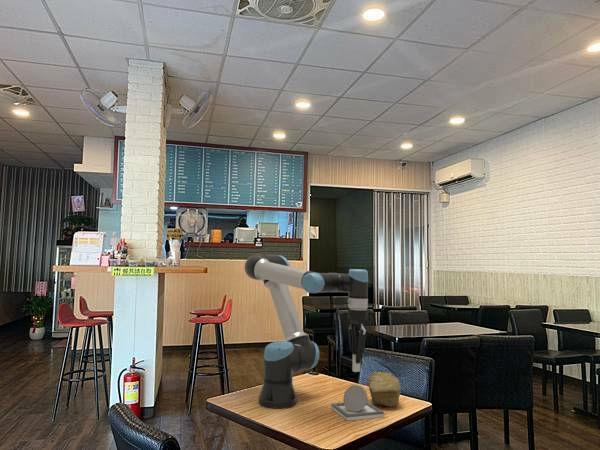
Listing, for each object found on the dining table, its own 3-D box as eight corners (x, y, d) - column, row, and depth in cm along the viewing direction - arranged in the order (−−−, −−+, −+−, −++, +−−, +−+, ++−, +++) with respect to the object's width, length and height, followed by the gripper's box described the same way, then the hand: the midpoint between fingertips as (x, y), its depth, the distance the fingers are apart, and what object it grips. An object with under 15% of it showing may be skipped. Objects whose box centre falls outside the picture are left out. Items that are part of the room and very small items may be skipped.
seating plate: (331, 408, 173) (331, 403, 173) (365, 405, 178) (365, 400, 178) (347, 420, 159) (347, 415, 159) (384, 417, 163) (384, 412, 164)
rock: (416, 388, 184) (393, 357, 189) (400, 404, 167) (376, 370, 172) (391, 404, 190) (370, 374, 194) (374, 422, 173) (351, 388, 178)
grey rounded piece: (338, 394, 164) (344, 377, 173) (343, 416, 167) (348, 399, 176) (363, 395, 161) (368, 378, 170) (368, 418, 164) (372, 400, 173)
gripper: (342, 307, 177) (340, 367, 175) (356, 311, 165) (354, 376, 163) (359, 307, 179) (357, 366, 177) (374, 311, 167) (373, 375, 165)
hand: (356, 371), depth 170 cm, fingers closed
